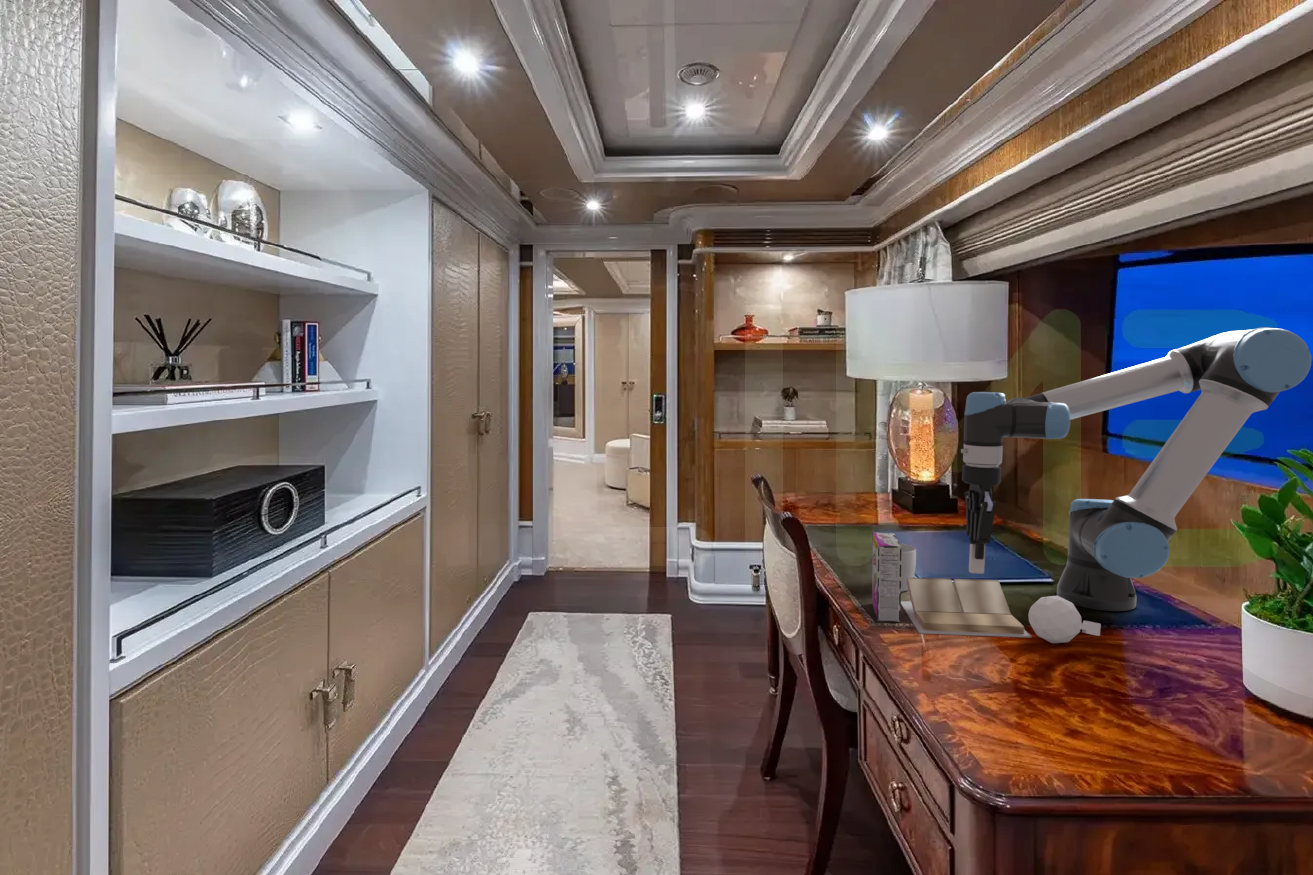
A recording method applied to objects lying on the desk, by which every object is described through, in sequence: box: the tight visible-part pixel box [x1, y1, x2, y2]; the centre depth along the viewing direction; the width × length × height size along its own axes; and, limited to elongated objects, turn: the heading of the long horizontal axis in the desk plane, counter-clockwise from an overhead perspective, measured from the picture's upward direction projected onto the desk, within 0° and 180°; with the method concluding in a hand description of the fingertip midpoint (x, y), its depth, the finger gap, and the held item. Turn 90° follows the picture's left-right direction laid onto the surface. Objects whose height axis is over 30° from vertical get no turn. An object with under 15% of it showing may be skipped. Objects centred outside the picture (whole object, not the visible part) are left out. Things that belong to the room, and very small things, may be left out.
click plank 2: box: [952, 578, 1012, 615], centre depth 146 cm, size 9×9×1 cm
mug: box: [899, 542, 917, 593], centre depth 165 cm, size 13×9×10 cm
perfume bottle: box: [1028, 595, 1102, 644], centre depth 131 cm, size 9×9×12 cm
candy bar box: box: [871, 532, 902, 623], centre depth 147 cm, size 11×5×16 cm, turn 168°
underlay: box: [901, 600, 1032, 639], centre depth 144 cm, size 21×18×1 cm
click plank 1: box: [907, 577, 961, 615], centre depth 147 cm, size 9×9×1 cm
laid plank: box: [915, 611, 1025, 634], centre depth 139 cm, size 19×7×2 cm, turn 83°
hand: (976, 572), depth 148 cm, fingers closed
